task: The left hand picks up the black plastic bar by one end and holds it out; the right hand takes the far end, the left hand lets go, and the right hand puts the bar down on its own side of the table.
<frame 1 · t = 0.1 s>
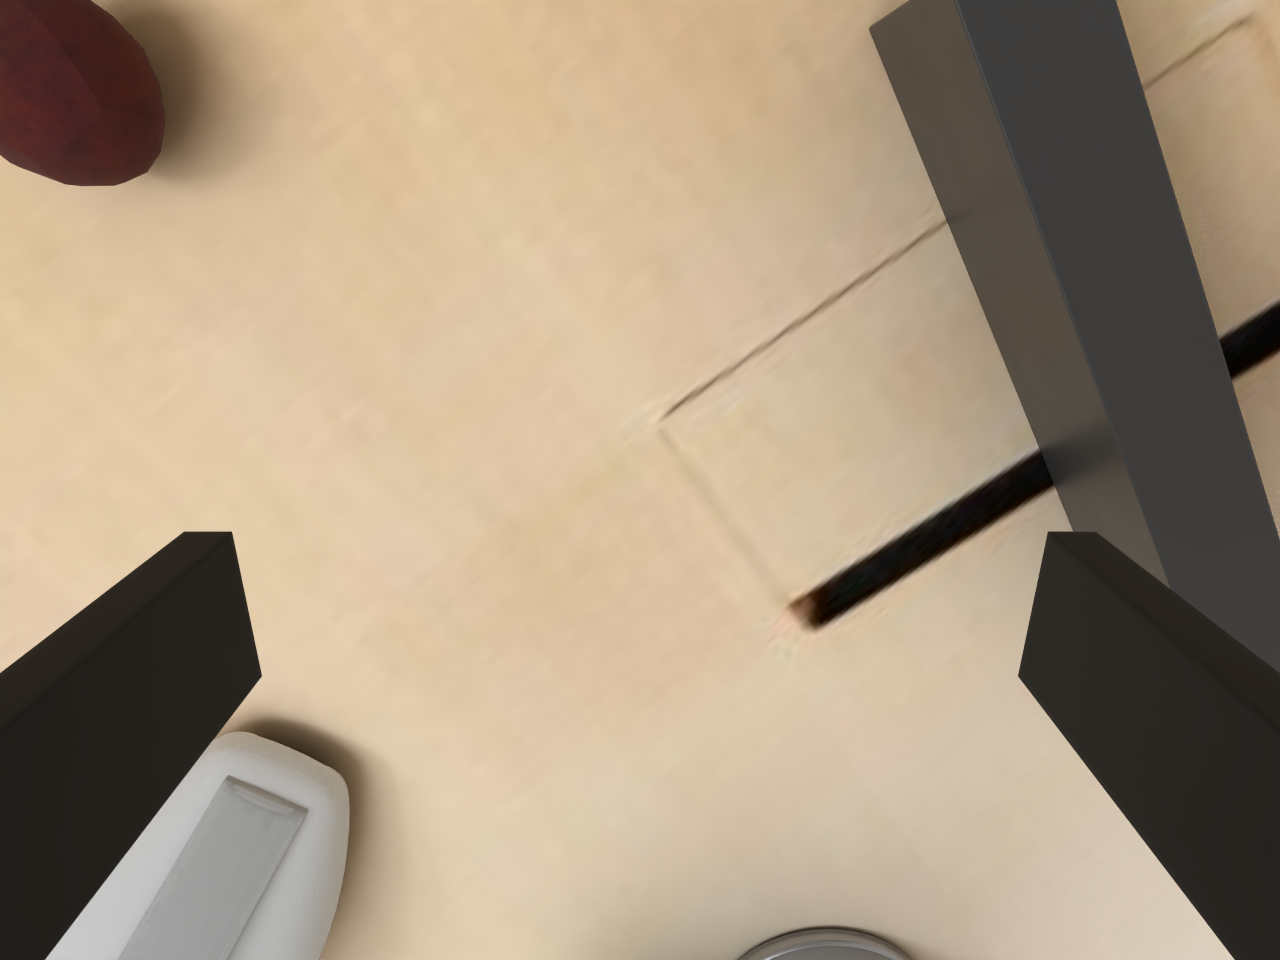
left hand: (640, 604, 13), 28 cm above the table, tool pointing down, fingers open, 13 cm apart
projector: (233, 853, 51), on the table
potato: (117, 99, 35), on the table
bar: (1046, 333, 39), on the table
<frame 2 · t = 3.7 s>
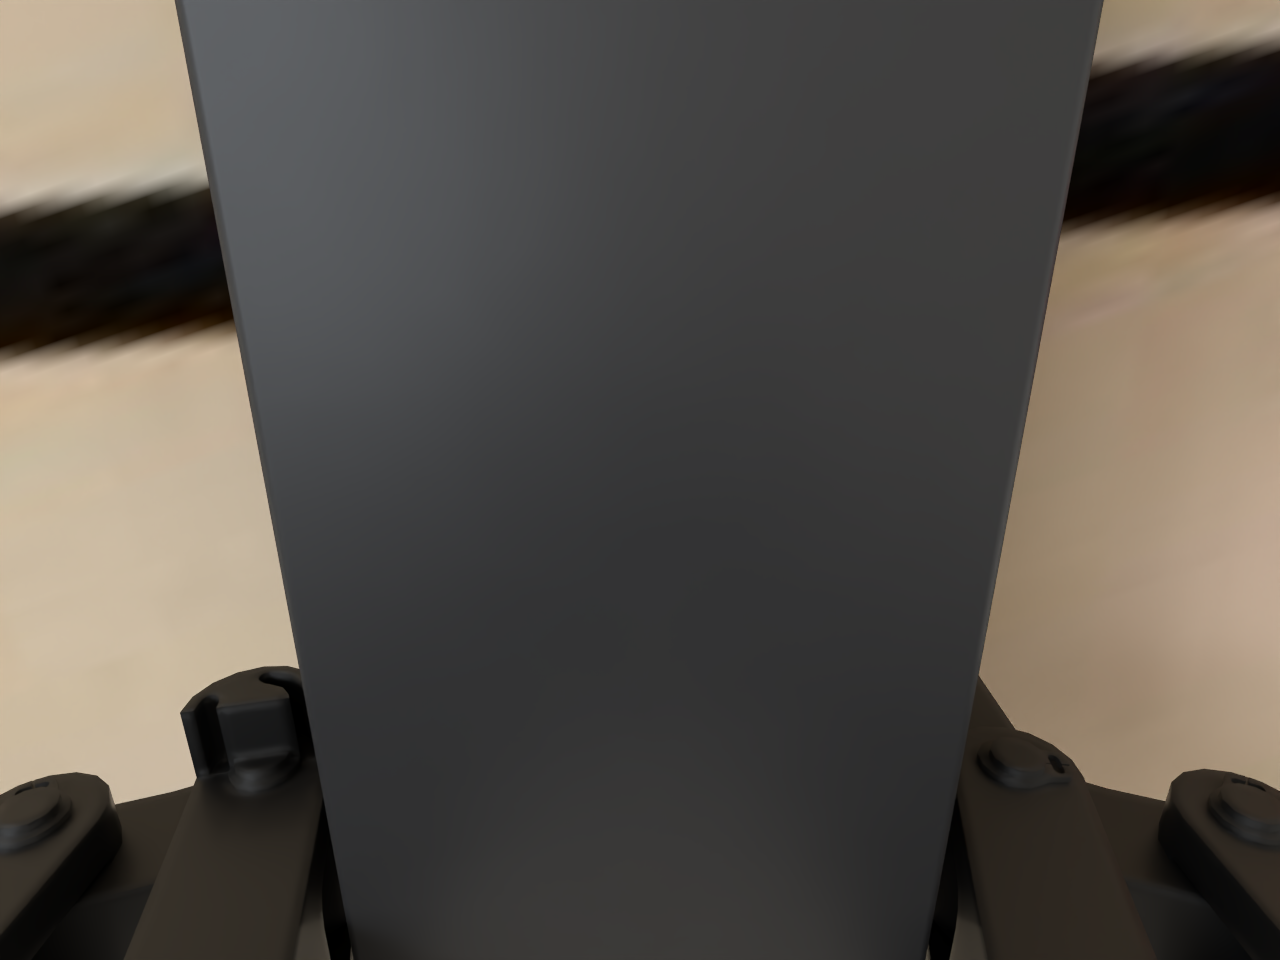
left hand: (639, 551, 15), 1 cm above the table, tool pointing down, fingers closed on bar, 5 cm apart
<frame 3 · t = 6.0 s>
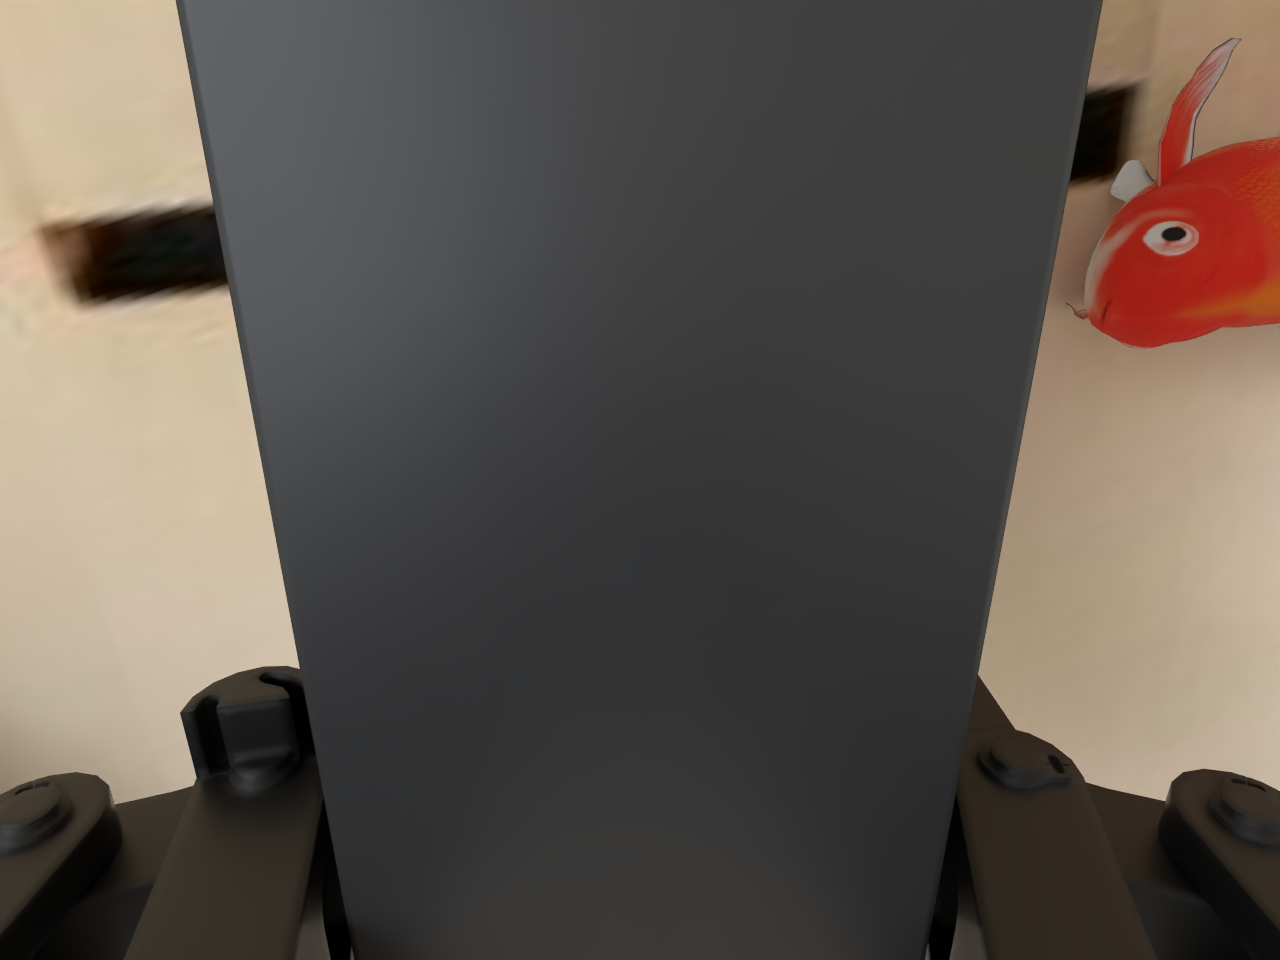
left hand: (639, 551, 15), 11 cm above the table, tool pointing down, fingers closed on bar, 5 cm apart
fish: (1258, 184, 23), on the table
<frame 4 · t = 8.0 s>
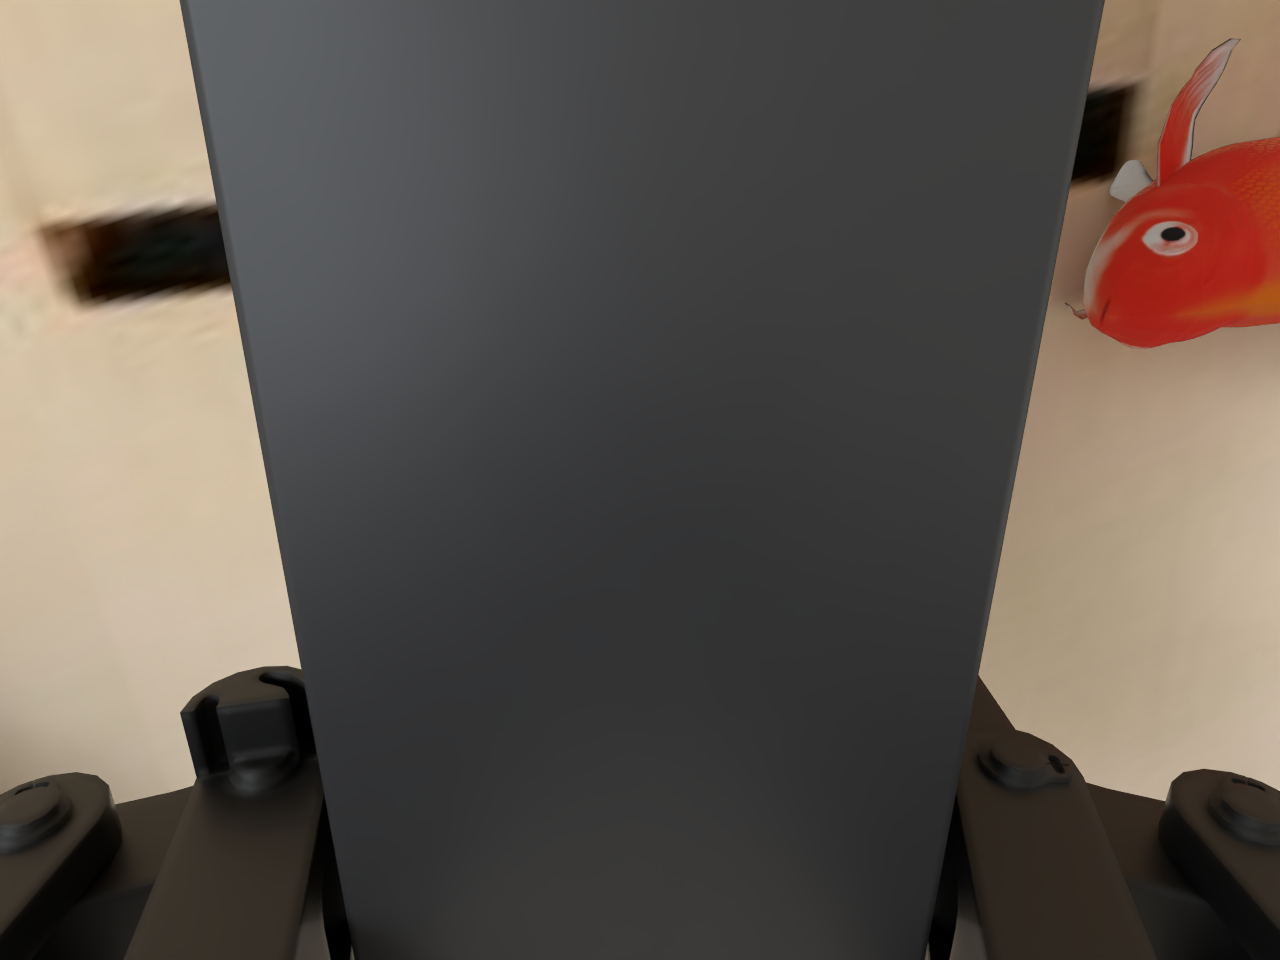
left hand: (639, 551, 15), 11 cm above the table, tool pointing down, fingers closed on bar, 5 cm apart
fish: (1257, 184, 23), on the table
when the left hand's fingers open (11 cm above the table, at t = 8.8 s): bar stays where it is, held by the right hand.
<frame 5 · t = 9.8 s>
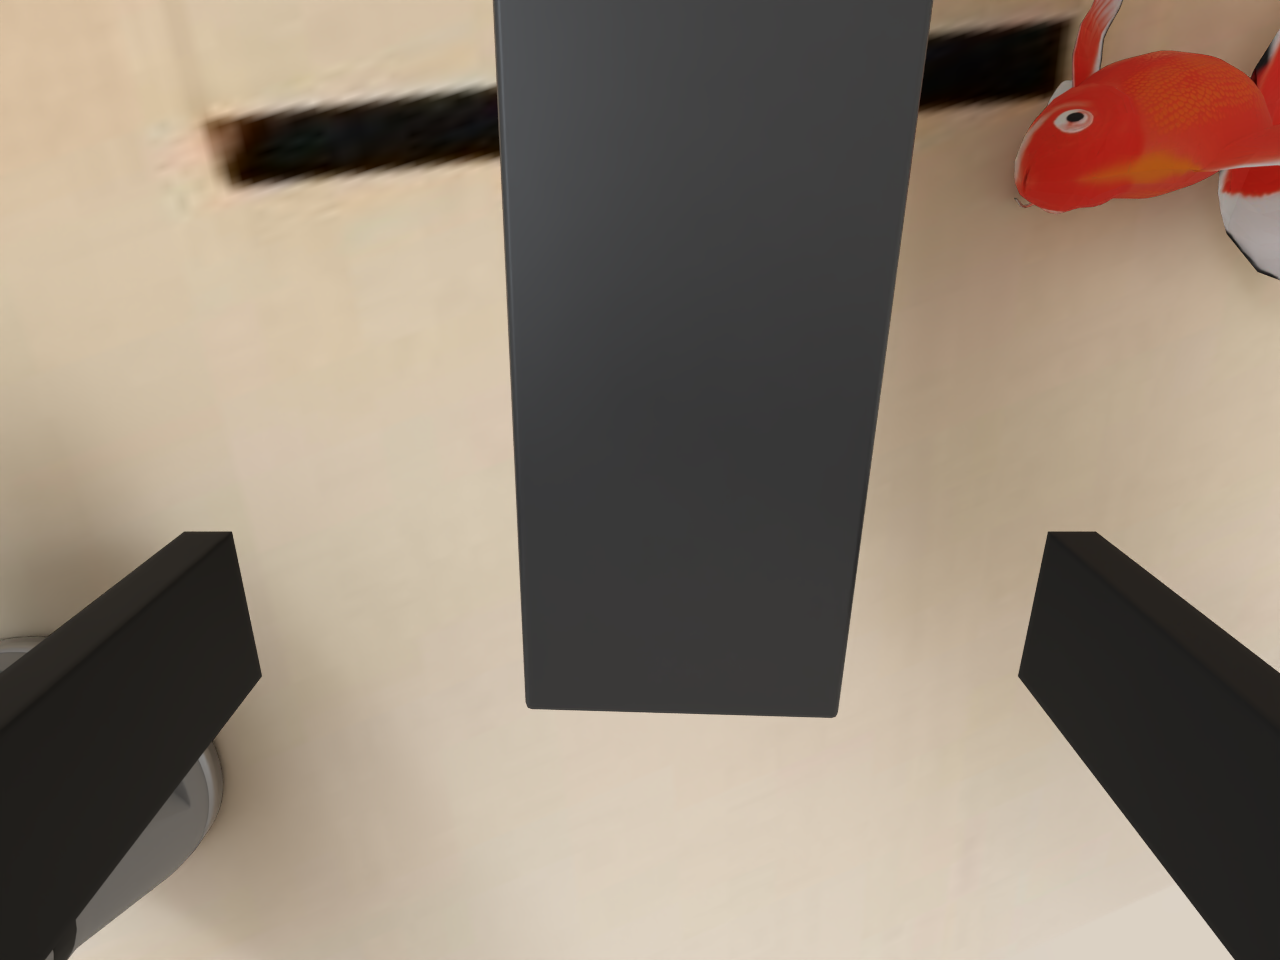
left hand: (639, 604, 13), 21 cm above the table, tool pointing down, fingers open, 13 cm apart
fish: (1169, 102, 28), on the table
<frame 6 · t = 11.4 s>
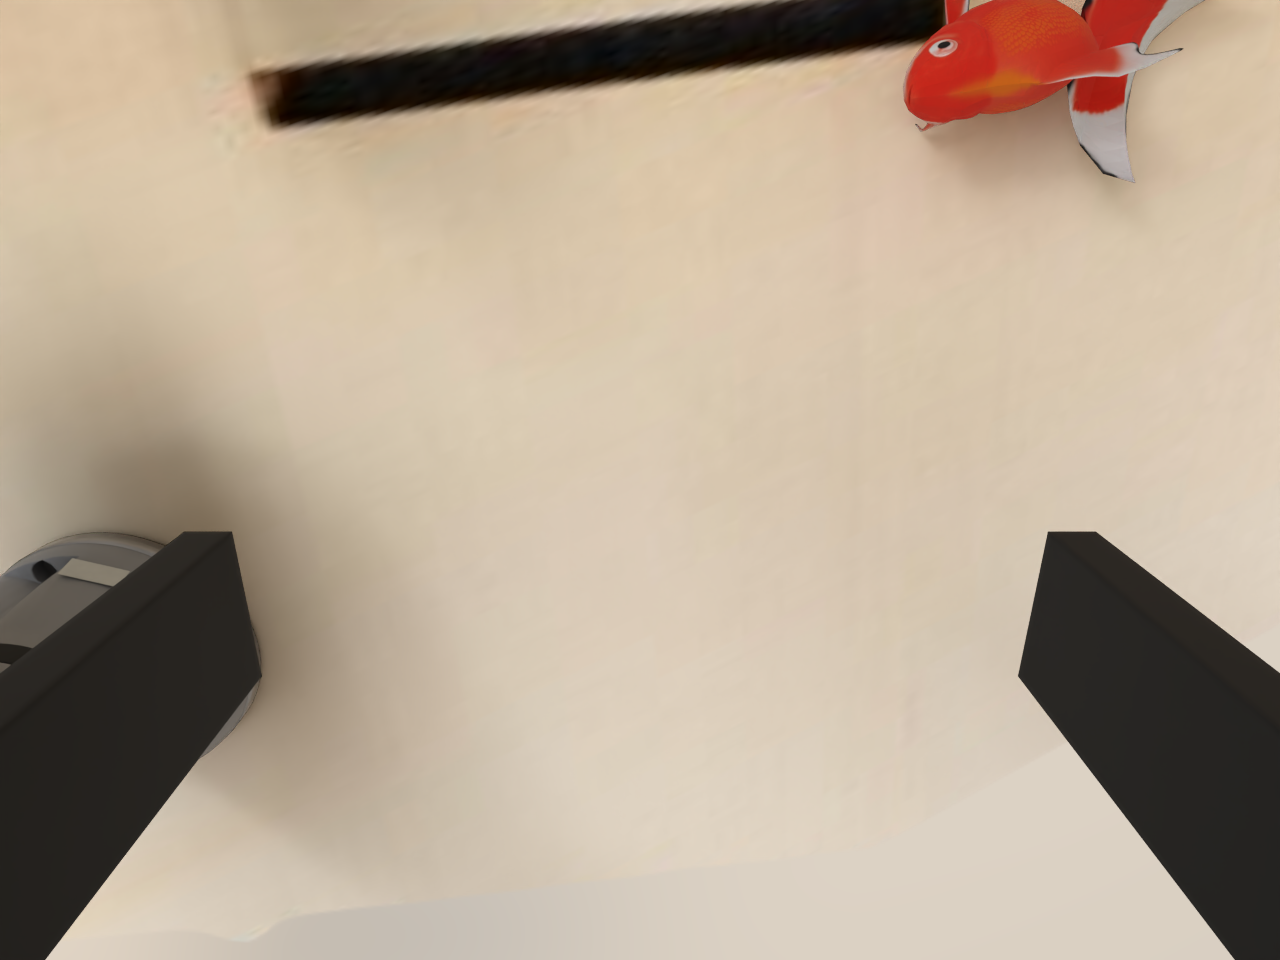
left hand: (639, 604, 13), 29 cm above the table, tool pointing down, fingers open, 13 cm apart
fish: (1034, 43, 35), on the table
when the right hand's fingers open (2 cm above the table, at t = 14.9 s): bar stays where it is, on the table.
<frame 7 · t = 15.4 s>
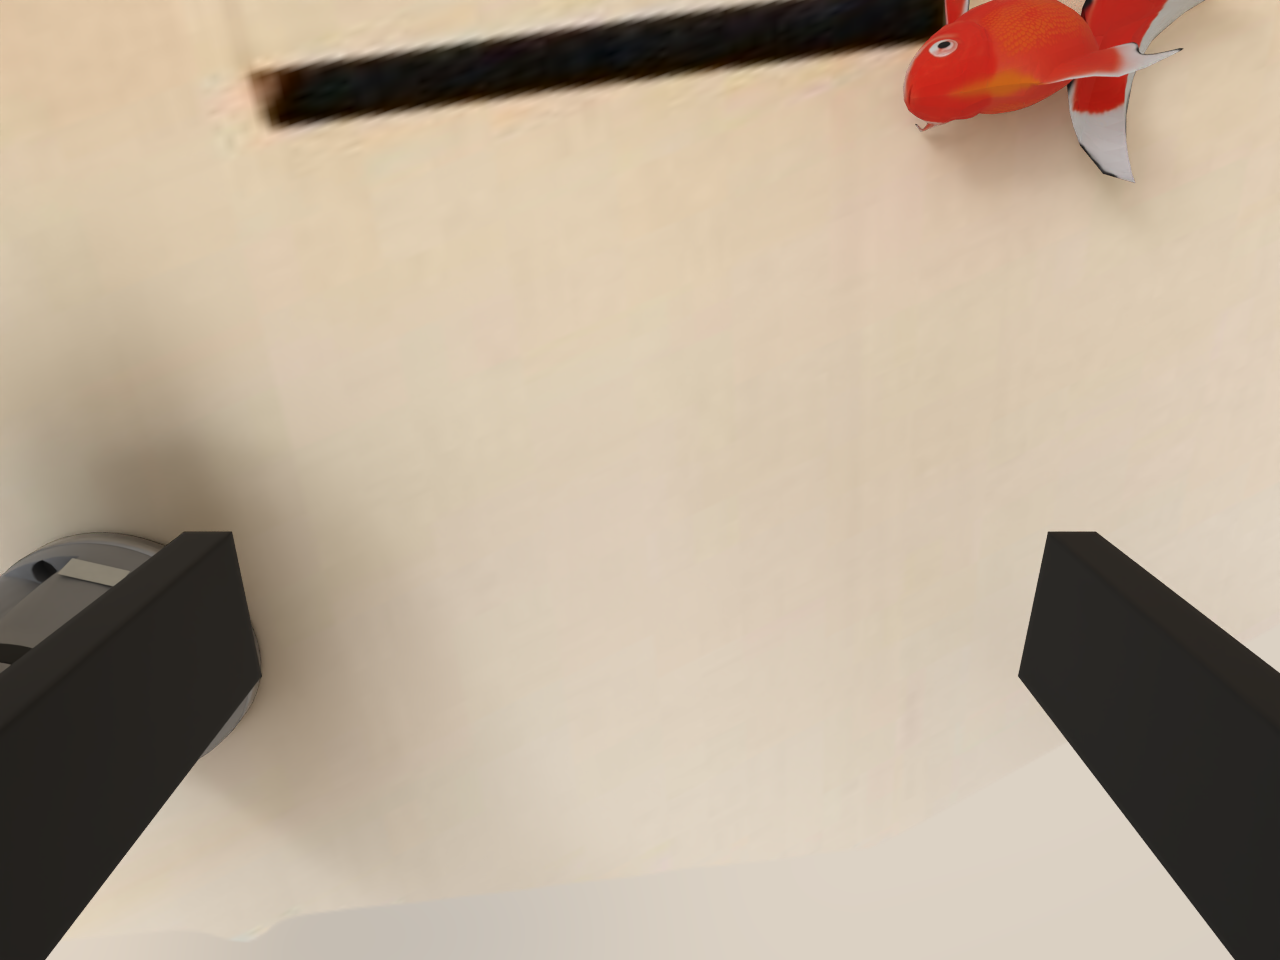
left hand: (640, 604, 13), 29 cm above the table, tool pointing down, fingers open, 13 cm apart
fish: (1034, 43, 35), on the table
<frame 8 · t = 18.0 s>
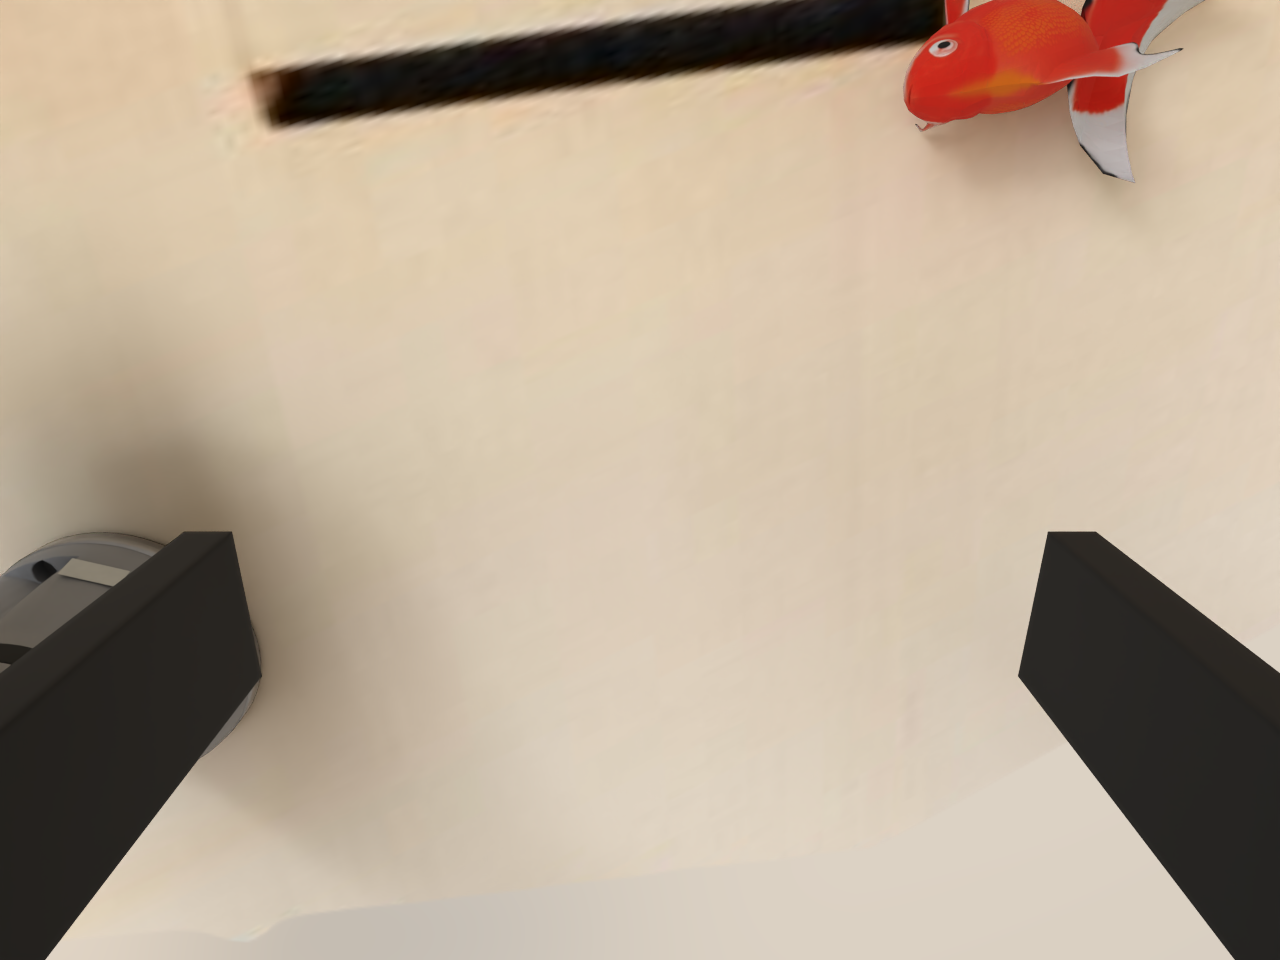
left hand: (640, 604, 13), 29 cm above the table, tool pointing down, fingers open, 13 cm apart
fish: (1034, 43, 35), on the table
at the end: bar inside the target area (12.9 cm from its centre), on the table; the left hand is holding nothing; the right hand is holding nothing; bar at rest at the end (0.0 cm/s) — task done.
